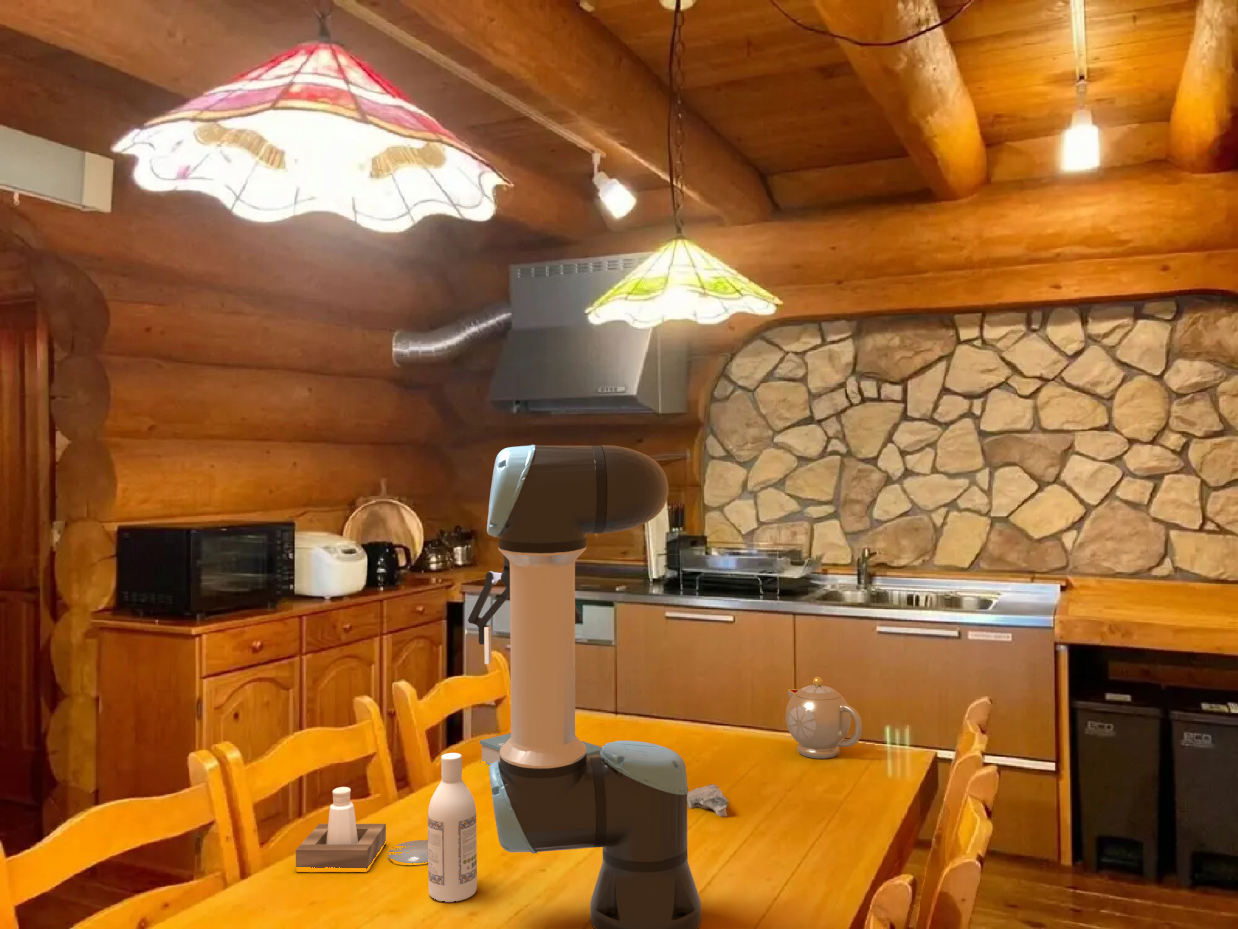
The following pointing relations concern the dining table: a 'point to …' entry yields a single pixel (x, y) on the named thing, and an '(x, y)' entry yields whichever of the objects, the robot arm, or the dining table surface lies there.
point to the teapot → (820, 720)
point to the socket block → (341, 848)
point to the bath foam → (452, 835)
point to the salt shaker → (342, 819)
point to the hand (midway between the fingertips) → (525, 662)
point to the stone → (708, 799)
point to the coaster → (411, 852)
